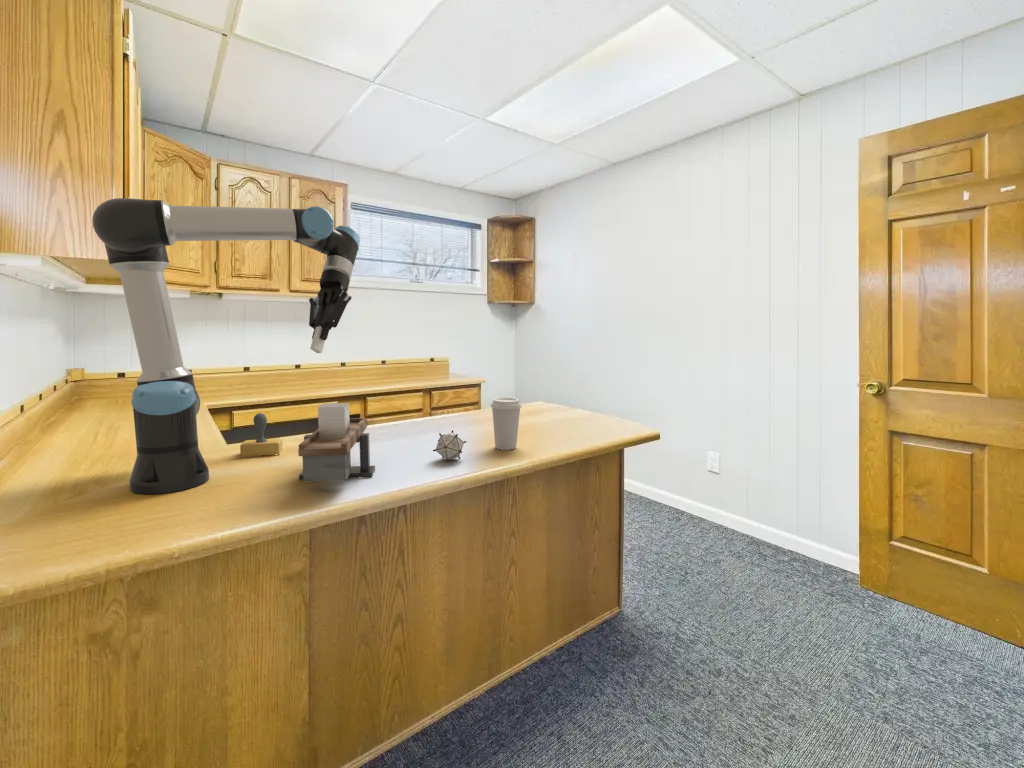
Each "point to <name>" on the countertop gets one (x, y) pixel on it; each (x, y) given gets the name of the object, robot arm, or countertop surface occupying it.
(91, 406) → the countertop surface
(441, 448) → the game die
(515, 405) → the coffee cup
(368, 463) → the pivot stand
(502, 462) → the countertop surface
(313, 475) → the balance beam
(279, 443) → the rubber stamp
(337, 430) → the light grey block
